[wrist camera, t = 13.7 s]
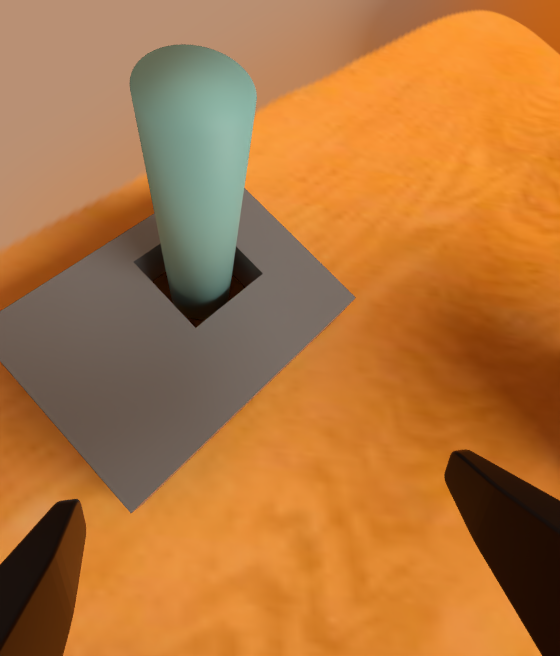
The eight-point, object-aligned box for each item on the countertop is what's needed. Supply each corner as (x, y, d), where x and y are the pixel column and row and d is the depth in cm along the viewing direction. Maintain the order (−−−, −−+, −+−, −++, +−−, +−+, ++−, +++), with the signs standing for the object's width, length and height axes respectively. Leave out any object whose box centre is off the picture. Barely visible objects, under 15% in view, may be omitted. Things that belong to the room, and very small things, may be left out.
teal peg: (219, 326, 21) (237, 153, 9) (162, 309, 21) (108, 109, 9) (235, 277, 22) (269, 70, 11) (182, 260, 22) (157, 29, 10)
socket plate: (141, 505, 18) (130, 513, 15) (6, 348, 19) (-28, 328, 16) (336, 317, 23) (355, 297, 20) (221, 203, 24) (224, 168, 21)
